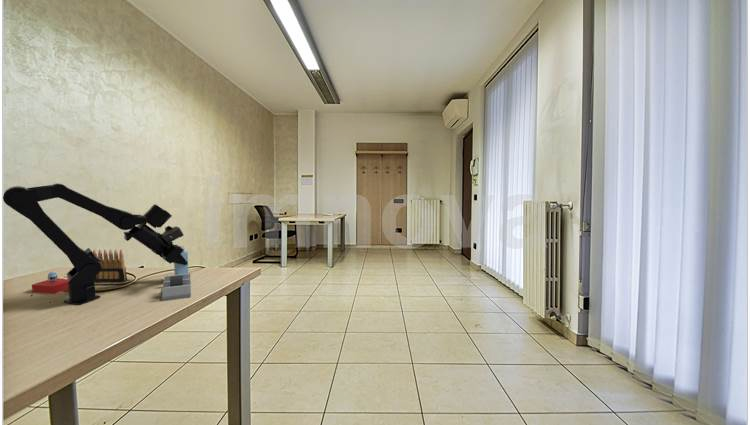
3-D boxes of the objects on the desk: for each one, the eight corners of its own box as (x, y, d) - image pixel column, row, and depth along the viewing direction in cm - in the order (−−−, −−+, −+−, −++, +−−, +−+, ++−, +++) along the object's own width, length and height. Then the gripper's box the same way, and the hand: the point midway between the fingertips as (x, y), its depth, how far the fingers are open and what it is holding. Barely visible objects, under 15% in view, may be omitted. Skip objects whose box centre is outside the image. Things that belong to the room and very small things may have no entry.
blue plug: (178, 282, 124) (176, 248, 123) (174, 280, 127) (173, 246, 125) (188, 280, 127) (187, 247, 125) (185, 278, 130) (184, 245, 128)
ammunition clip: (127, 280, 125) (125, 248, 124) (124, 281, 124) (122, 250, 122) (95, 280, 124) (93, 248, 122) (92, 282, 122) (89, 250, 121)
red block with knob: (74, 287, 117) (73, 269, 116) (54, 294, 111) (52, 276, 110) (54, 285, 118) (52, 268, 117) (32, 292, 111) (30, 274, 110)
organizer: (162, 300, 108) (161, 282, 107) (165, 286, 120) (164, 270, 120) (190, 297, 112) (190, 279, 111) (190, 283, 124) (190, 267, 123)
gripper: (175, 224, 115) (210, 250, 124) (159, 217, 127) (192, 241, 137) (149, 250, 110) (187, 275, 120) (135, 240, 123) (171, 264, 132)
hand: (185, 262), depth 127 cm, fingers closed on blue plug, 4 cm apart
